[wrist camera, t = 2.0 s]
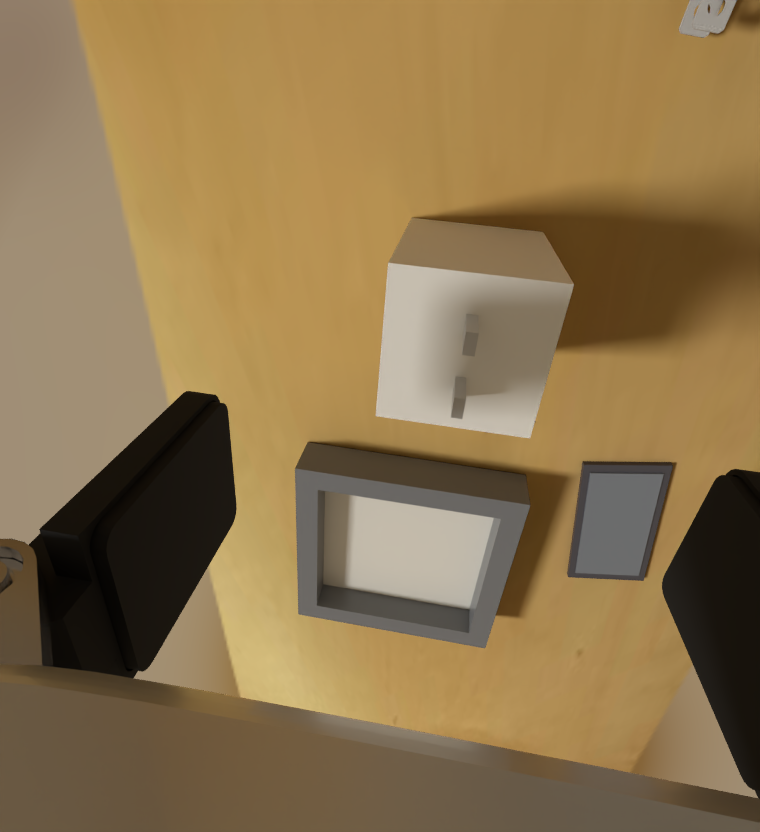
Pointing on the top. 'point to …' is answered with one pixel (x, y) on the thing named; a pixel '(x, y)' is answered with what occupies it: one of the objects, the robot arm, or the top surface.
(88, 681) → the robot arm
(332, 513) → the dock
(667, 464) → the phone
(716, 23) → the push button
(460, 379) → the charger
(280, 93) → the top surface
